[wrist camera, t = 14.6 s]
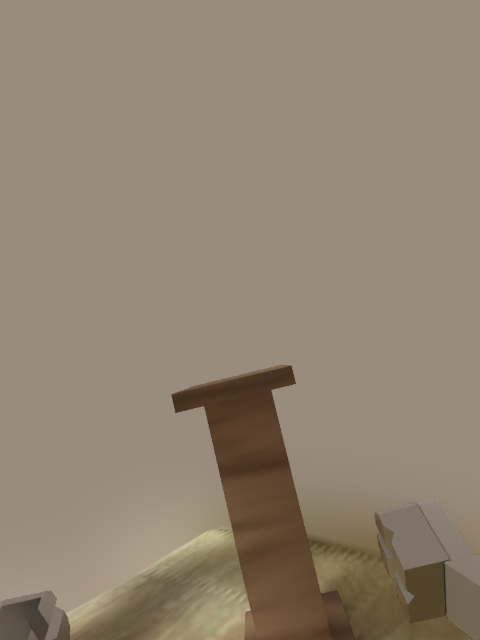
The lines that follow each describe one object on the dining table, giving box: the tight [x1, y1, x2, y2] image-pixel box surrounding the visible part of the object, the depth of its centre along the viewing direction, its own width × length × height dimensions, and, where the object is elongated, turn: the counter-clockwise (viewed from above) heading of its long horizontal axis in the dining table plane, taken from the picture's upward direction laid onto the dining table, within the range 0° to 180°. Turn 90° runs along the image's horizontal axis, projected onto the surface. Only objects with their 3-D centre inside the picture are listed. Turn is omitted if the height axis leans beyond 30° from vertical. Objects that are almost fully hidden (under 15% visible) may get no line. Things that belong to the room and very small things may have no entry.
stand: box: [172, 365, 355, 640], centre depth 42 cm, size 14×10×26 cm
